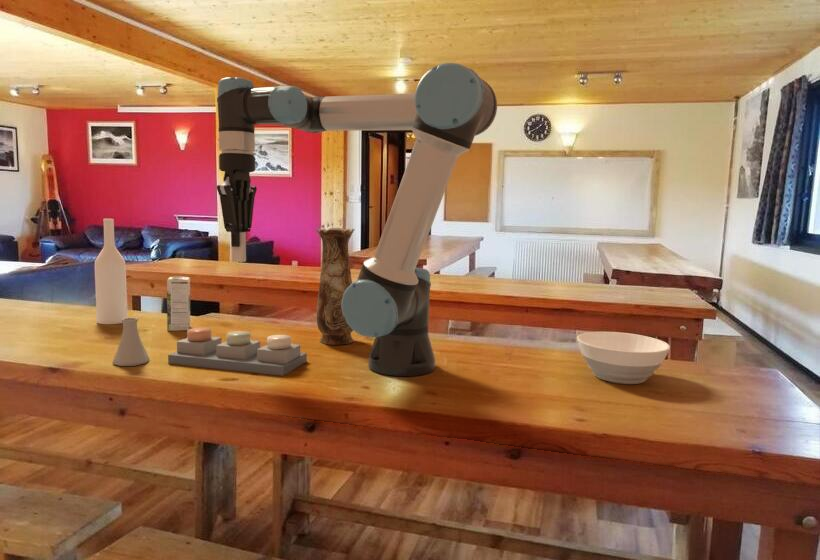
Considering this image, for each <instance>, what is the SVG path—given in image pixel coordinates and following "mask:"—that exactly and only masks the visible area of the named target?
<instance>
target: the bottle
mask: <svg viewBox="0 0 820 560" xmlns="http://www.w3.org/2000/svg"><path fill="white" fill-rule="evenodd" d="M115 242H116V241H115V220H114V218H103V248H102V249H101V250H100V252H99V254H98V255H97V257H96V259H95V260H94V287H95V288H94V289H95V307H96V308H95V313H96V323H97V324H98V325H119V324H123V322H122V321H121V320H122V319H124V318H129V317H128V316H129V315H128V293H127V292H128V291H127V288H128V287H127V286H128V285H127V265H126V261H125V258H124V257H123V255H122V254H121V253H120V251H119V250H118V248H117V247H116V243H115Z"/></svg>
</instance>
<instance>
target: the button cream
mask: <svg viewBox="0 0 820 560" xmlns="http://www.w3.org/2000/svg"><path fill="white" fill-rule="evenodd" d="M291 344H292V336H290V335H287V334H272V335H269V336H267V337H266V345H267V347H268V348H271V349H282V350H283V349H286V348H289V347H291Z"/></svg>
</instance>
